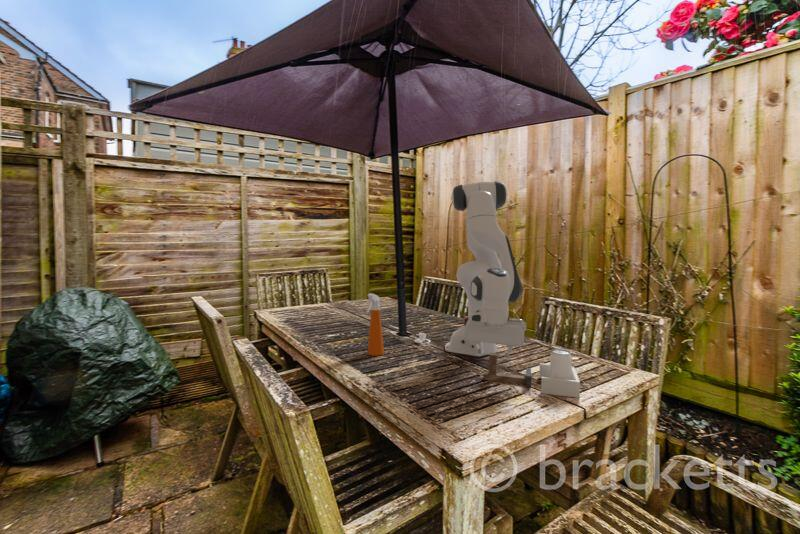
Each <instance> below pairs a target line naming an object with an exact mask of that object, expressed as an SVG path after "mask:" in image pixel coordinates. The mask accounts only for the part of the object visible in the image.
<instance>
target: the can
mask: <svg viewBox="0 0 800 534" xmlns="http://www.w3.org/2000/svg"><path fill="white" fill-rule="evenodd" d="M549 357H550V358H549V359H550V361H549V364H550V378H558V379H567V380H571V371H572V367H573V366H572V364H573V363H572V362H573V357H572V355H571V351H570V350H567V349H562V348H554V349H552V350H551V353H550V356H549Z"/></svg>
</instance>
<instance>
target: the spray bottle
mask: <svg viewBox="0 0 800 534" xmlns="http://www.w3.org/2000/svg"><path fill="white" fill-rule="evenodd" d="M367 297H368V305H367V309H366V311H365V313H366V314H368V313H369V312H370V317H369V318H370V320H369V321H370V322H369V330H368V331H369V332H368V342H367V343H368V345H367V354H368V355H369V356H372V357H373V356H374V357H375V356H376V357H377V356H382V355H384V354H385V348H384V337H383V329H382V318H381V317H382V315H381V309H380V307H381V306H380V301H381V298H380V296H379V295H377V294H375V293H373V292H372V293H368V294H367Z"/></svg>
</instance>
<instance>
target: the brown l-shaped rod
mask: <svg viewBox="0 0 800 534" xmlns="http://www.w3.org/2000/svg"><path fill="white" fill-rule="evenodd" d="M488 357H489V358H488V371H484V372H483V380H484V381H492V382H502V383H510V384H518V385H519V384H520V385H525V388H526V389H532V368H530V367H526V368H525V375H521V374H520V375H518V374H509V373H502V372H501V373H500V372H498V352H496V353H490V354H489V355H488Z"/></svg>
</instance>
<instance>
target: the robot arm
mask: <svg viewBox="0 0 800 534" xmlns="http://www.w3.org/2000/svg"><path fill="white" fill-rule="evenodd" d="M450 197H451V198H450V200H451V203H452V205H453V207H454V210H456V211H460V212H464V211H466V221H465V222H466V225H465V227H466V229H465V230H466V246H467V248H468V250H469V251H471V253H472V254H473V256H474V258H475V260H474V261H473V260H471V261H467V262H465V263H462V264H460V265H459V266H458V267H457V270H456V274H455V275H456V279H457V282H458V284H459V285H460V286H461V287H462V288H463V290H464V292H465V294H466V297H467V308H468V309H467V311H468V312H467V315H465V316H464V317H463V320H462V323H463V325H462V326H460V327H459V328H458V329H456V330H455V331H453V332H452V335H450V341H448V342H447V343H446V344H445V345H444V350H445V351H446V352H450V353H454V354H461V355H468V356H473V357H482V356H487V355H488V356H489V354H490V353H498V350H499V349H498V348H497V345H501V346H502V345H503V346H504V345H505V346H508V349H507V350H504V356H503V357H504V358H510V353H511V352H512V350H513V348H514V347H519V348H521V347H523V346H524V345H525V331H526V330H527V322H526V321H524V320H523V319H521V318H514V317H509V303H511V304H513V303H515V302H517V301H518V300H519V299H520V298H521V296H522V295H523V292H524V291H523V290H524V288H523V283H522V281H521V278H520V275H519V274H518V273H519V272H518V270H517V266H516V263H515V258H514V255H513V249H512V247H511V242H510V240H509V237H508V235H507V234H506V233H504V232H503V230H502V229H501V227H500V226H499V222H498V216H497V213H498V212H497V211H498V209H500V208H502V207H503V206H504V205H505V204H506V202H507V199H508V190H507V188H506V185H505V183H504V182H503V181H498V180H497V181H496V180H495V181H478V182H473V183H472V182H471V183H468V184H460V185H459V184H458V185H456V186H454V188H453V190H452V192H451V196H450Z"/></svg>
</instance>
